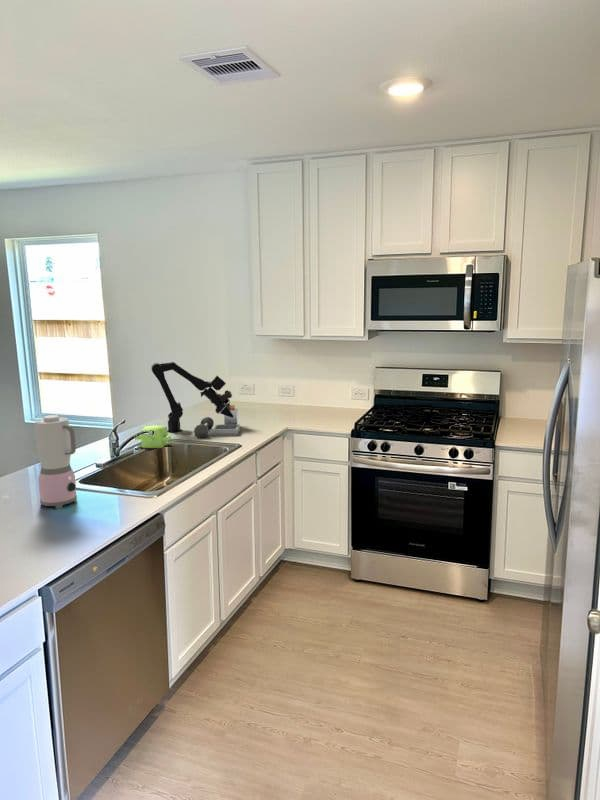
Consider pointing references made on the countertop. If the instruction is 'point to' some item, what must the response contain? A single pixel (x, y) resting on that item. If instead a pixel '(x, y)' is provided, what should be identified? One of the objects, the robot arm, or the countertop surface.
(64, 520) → the countertop surface
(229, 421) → the block
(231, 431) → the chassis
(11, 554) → the countertop surface
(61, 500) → the blender
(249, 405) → the countertop surface
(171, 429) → the robot arm
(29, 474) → the countertop surface
